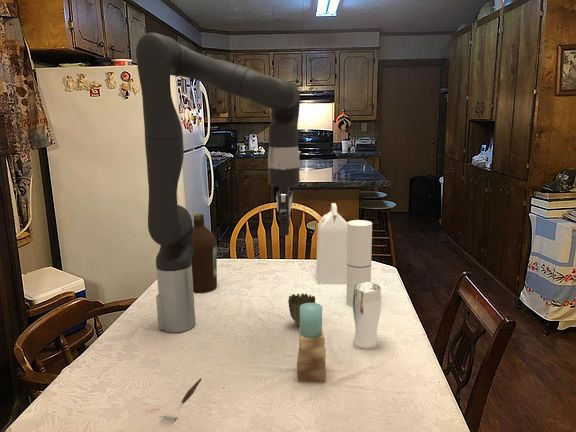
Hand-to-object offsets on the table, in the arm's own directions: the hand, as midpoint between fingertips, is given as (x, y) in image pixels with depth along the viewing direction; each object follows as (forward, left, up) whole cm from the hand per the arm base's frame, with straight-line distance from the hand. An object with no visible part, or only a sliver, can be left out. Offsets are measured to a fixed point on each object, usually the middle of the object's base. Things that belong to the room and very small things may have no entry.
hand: (284, 230), depth 117 cm
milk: (+15, +42, -28) cm, 53 cm away
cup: (+4, +5, -28) cm, 29 cm away
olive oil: (-29, +33, -28) cm, 52 cm away
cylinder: (+6, -19, -18) cm, 27 cm away
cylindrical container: (+21, +20, -28) cm, 41 cm away
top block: (+6, -19, -23) cm, 31 cm away
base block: (+6, -19, -28) cm, 35 cm away
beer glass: (+20, -5, -28) cm, 35 cm away
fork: (-20, -29, -29) cm, 45 cm away
